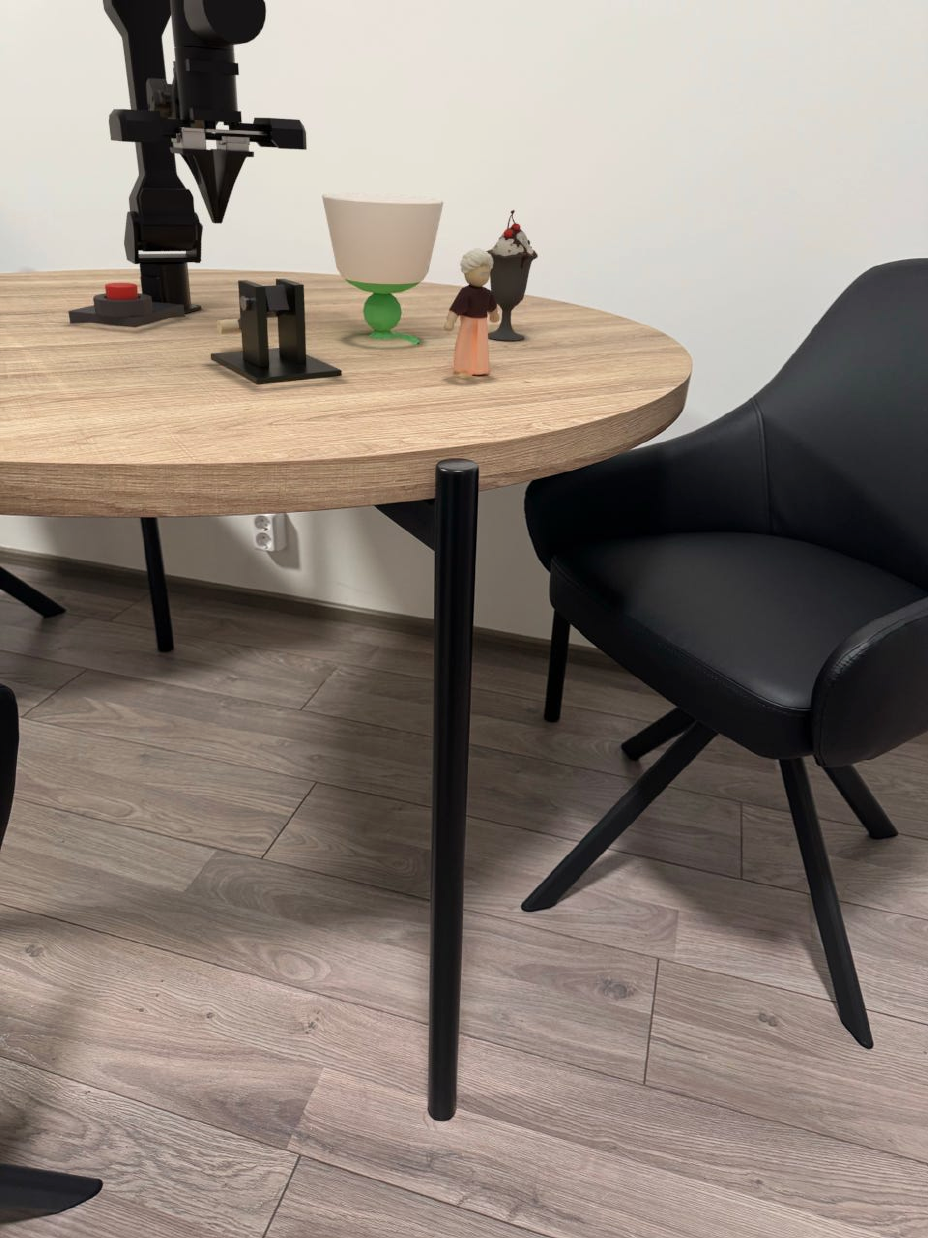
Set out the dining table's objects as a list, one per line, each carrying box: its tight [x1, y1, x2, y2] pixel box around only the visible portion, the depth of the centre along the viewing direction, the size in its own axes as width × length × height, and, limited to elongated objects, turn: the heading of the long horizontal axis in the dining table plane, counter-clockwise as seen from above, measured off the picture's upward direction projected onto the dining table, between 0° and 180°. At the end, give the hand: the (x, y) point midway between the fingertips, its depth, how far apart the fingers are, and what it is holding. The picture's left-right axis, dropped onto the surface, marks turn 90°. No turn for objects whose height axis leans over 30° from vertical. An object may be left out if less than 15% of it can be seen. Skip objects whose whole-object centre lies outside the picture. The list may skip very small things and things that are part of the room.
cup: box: [321, 192, 444, 345], centre depth 106 cm, size 14×14×16 cm
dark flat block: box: [67, 292, 186, 328], centre depth 112 cm, size 12×9×4 cm
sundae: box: [485, 209, 539, 342], centre depth 112 cm, size 7×7×15 cm
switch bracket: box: [210, 278, 343, 386], centre depth 91 cm, size 12×9×9 cm
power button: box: [104, 282, 139, 300], centre depth 109 cm, size 4×4×2 cm
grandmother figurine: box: [443, 247, 501, 379], centre depth 92 cm, size 8×4×13 cm, turn 148°
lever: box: [216, 284, 289, 335], centre depth 93 cm, size 11×5×2 cm, turn 35°
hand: (217, 222), depth 96 cm, fingers closed
